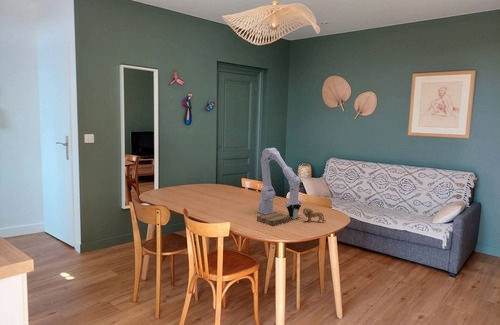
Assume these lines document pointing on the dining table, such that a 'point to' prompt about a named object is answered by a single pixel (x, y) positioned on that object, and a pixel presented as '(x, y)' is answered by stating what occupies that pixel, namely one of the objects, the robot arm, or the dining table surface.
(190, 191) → the dining table surface
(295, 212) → the grey block
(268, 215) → the walnut plinth
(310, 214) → the lion figurine
